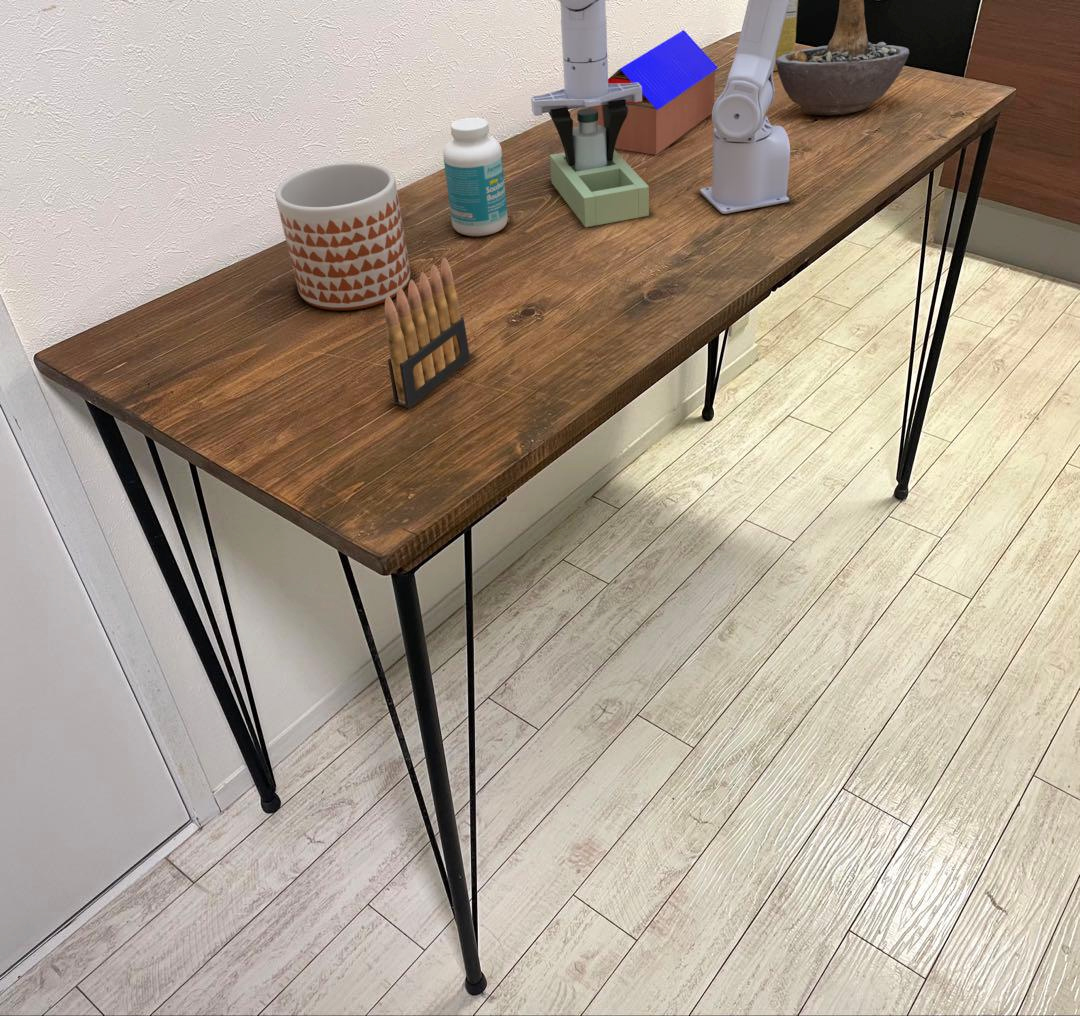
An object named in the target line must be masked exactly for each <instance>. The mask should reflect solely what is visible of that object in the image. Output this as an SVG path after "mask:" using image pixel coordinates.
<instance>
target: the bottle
mask: <svg viewBox="0 0 1080 1016" xmlns="http://www.w3.org/2000/svg"><path fill="white" fill-rule="evenodd" d="M576 116H577V117H576V119H577V121H578V125H577V126H575V127H573V151H574V166H572V169H573V170H574V171H575V172H577V171H583V170H588V169H594V168H600V167H605V166H607V140H606V128H605V127H603V126H600V125H597V120H598V110H596V109H593V108H588V107H584V108H580V109H579V110H577V112H576Z"/></svg>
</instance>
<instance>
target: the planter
mask: <svg viewBox="0 0 1080 1016" xmlns="http://www.w3.org/2000/svg"><path fill="white" fill-rule="evenodd" d="M864 1H865V0H839V5H838V12H837V20H836V23H835V27H834V28H835V29H834V32H833V35H832V36H831V39H830V40H829V41H828V44H827V45H821V46H817V47H810V48H805V49H799V50H795V52H791V53H790V54H785V55H782V56H780V57H778V58H777V60H776V65H777V69H778V71H777V73H778V77H779V79H780V83H781V85H782V87H783V89H784V91H785V93H786V94H787V96H788V98H789V99H790V101H792V102H793V103H795V104H798V105H799V106H800V107H801V110H802V112H803V113H804V114H805V115H815V116H841V115H848V114H852V113H857V112H860V111H861V112H862V111H864V110H865V109H867V108H868V107H869V106H870V105H871V104H872V103H873V102H875V101H877V100H878V99H880V98H882V97H883V96H884V95H885V94H886V93H887V92H888V91H889V89H890V88H891V87H892V85H893V84H894V83H895V82H896V80H897V78H898V77H899V75H900V73H901V72H902V70H903V68H904V67H905V64H906V62H907V60H908V58H909V55H910V50H909V48H908V47H904V46H899V45H892V44H891V45H890V44H889V45H887V43H885V42H884V41H880V42H878V43H876V44H875V43H872V42H871V41H869V39H868V33H867V25H866V17H865V2H864Z"/></svg>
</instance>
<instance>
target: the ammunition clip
mask: <svg viewBox="0 0 1080 1016" xmlns="http://www.w3.org/2000/svg"><path fill="white" fill-rule="evenodd" d="M440 263H441V264H440V271H439V270H438V268H437V266H436V265H435V264H432V265H431V267H430V272H429V273H430V275H429V279H428V276H427V275H426V273H425V272H424V271H421V272H420V275H419V282H418V283H419V286H418V287H419V289H418V287H417V285H416V283H415V281H414V280H413V279H410V281H409V283H408V291H407V292H408V293H407V295H408V298H407V296H406V294H405V291H404V290H402V289H401V288H398V291H397V295H396V306H395V303H394V301H393V300H392V298H390V297H389V296H387V297H386V300H385V302H384V318H385V326H386V339H387V340H386V341H387V346H388V347H387V348H388V352H389V357H390V358H389V359H387V363H388V364H387V365H388V370H389V374H390V375H389V376H390V382H391V389H392V395H393V400H394V404H395V405H397V406H400V407H403V408H407V409H411V408H413V406H415V404H417V403H418V402H419V401H421V400H422V399H423V398H424V397H425V396H427V395H428V394H429V393H430V392H432V391H433V390H434V389H436V388H437V387H438V386H439V385H441V384H442V383H443V382H444V381H445V380H446V379H448V378H449V377H450V376H451V375H453V374H454V373H456V372H457V371H458V370H459V369H460V368H461V367H463V366H464V365H465V364H466V363H468V362H469V361H471V354H470V349H469V348H470V347H469V341H468V336H467V331H466V323H465V318H464V317H462V316H461V312H460V303H459V296H458V293H457V291H456V287H455V282H454V277H453V274H452V273H453V272H452V268H451V266H450V263H449V261H448V260H447V258H446V257H445V256H443V257H442V259H441V262H440Z"/></svg>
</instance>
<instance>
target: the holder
mask: <svg viewBox="0 0 1080 1016" xmlns="http://www.w3.org/2000/svg"><path fill="white" fill-rule="evenodd" d="M549 164H550V165H549V166H550V182H551V185H552V186H553V187H554V188H555V189H556V191H557V192H558V193H559V195H560V196H561V197H562V199H563V200H564V202H565V203H566V204H567V205H568V207H569V208H570V209H571V210H572V212H573V213H574V215H575V216H576V217H577V219H578V220H579V221H580V222H581V224H582V225H583V226H584V228H590V227H595V226H600V225H607V224H612V223H618V222H622V221H628V220H633V219H638V218H643V217H644V218H645V217H649V216H650V186H649V185H648V184H647V183H646V181H644V179H643V178H642V177H641V176H640V175H639V174H638V173H637V172H636V170H634V168H632V167H631V166H630V164H628V162H626V160H625V159H624V158H623V157H622V156H621V155H620V154H619V153H618V152H617V150H615V149H614V154H613V160H610V161H608V160H607V166H605V167H600V168H594V169H588V170H583V171H577V172H575V171H574V170H573V169H572V166H569V165H568V163H567V162H566V156H565V152H559V153H554V154H553V153H552V154H550V155H549Z"/></svg>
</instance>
